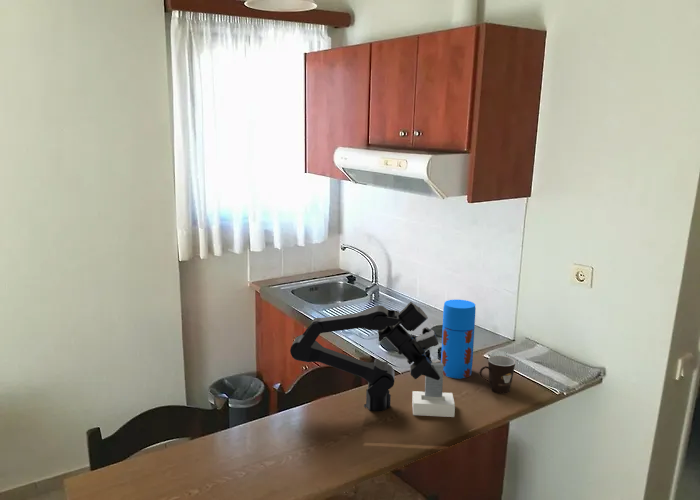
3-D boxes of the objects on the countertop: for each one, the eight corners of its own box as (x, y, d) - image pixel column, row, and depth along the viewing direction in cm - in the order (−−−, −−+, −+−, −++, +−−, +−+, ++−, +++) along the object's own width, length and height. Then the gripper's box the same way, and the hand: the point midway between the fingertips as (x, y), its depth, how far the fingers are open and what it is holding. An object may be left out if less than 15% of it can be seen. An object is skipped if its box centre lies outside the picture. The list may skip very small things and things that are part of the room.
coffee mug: (510, 384, 188) (512, 356, 186) (515, 396, 180) (517, 366, 178) (475, 382, 189) (477, 354, 187) (478, 394, 181) (480, 364, 179)
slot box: (412, 417, 165) (413, 403, 164) (412, 404, 173) (412, 391, 172) (454, 419, 164) (454, 405, 163) (451, 406, 172) (452, 392, 171)
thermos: (434, 369, 200) (437, 301, 195) (459, 364, 204) (463, 298, 199) (452, 380, 190) (456, 310, 185) (478, 375, 195) (482, 306, 190)
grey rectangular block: (425, 396, 167) (426, 364, 165) (424, 393, 169) (425, 362, 167) (442, 397, 166) (443, 365, 164) (441, 394, 168) (442, 362, 166)
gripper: (424, 333, 154) (463, 372, 156) (421, 312, 173) (455, 348, 174) (394, 359, 156) (433, 398, 158) (394, 336, 175) (429, 371, 176)
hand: (438, 377), depth 166 cm, fingers closed on grey rectangular block, 2 cm apart
